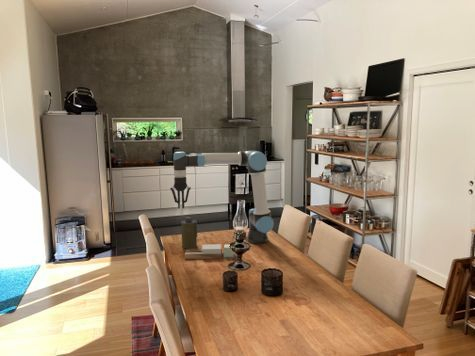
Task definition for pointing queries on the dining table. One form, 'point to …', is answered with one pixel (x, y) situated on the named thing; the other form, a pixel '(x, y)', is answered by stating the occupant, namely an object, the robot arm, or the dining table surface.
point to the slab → (211, 249)
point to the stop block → (228, 251)
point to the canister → (189, 233)
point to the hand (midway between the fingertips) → (181, 213)
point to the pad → (229, 257)
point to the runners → (200, 254)
